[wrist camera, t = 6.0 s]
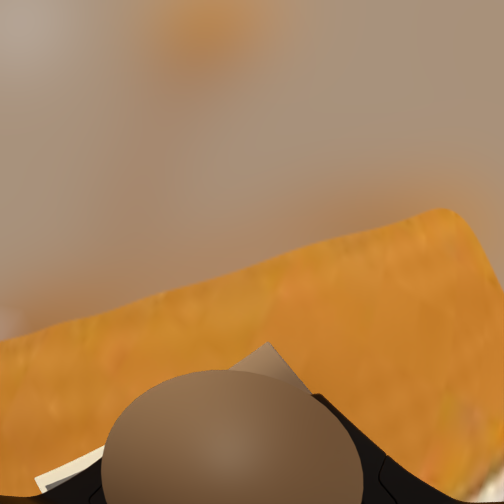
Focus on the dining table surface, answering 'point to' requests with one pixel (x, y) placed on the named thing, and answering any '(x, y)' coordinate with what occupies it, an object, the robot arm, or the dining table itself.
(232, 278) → the dining table surface
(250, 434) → the stamp
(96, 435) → the dining table surface
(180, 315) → the dining table surface
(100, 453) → the marked board
